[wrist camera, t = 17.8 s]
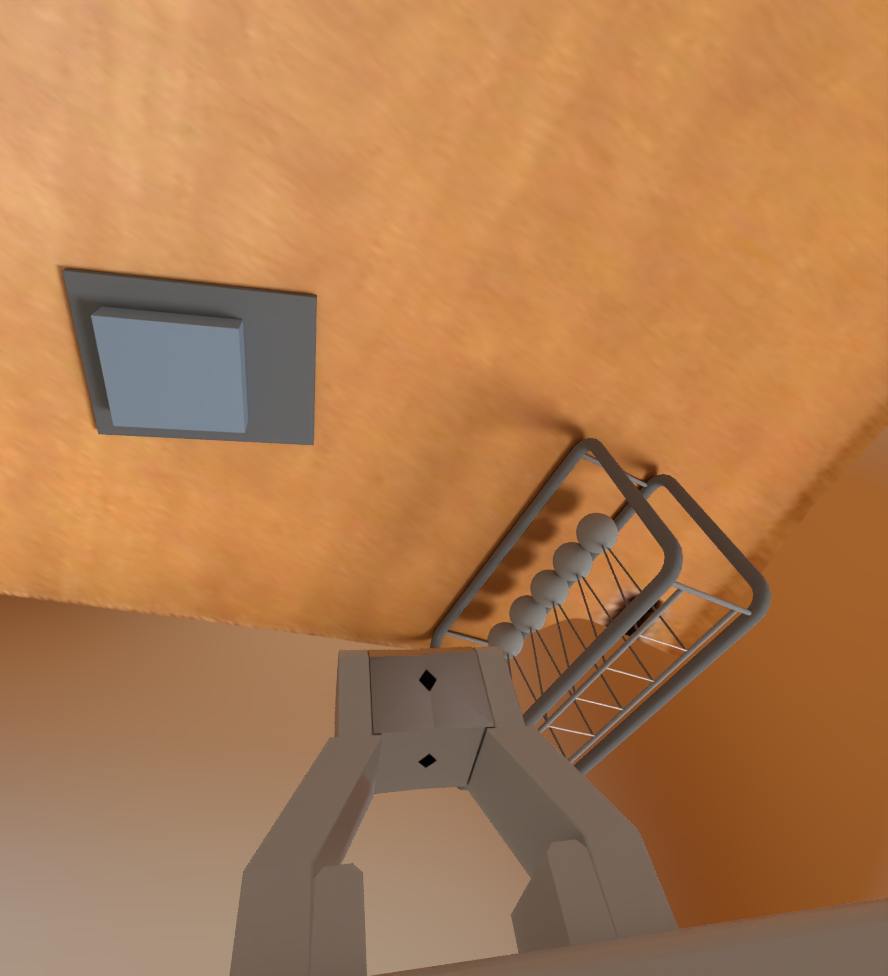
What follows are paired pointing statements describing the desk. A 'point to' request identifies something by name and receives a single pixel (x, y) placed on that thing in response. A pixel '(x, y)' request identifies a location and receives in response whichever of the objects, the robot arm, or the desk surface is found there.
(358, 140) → the desk surface
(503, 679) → the robot arm
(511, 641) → the newton's cradle
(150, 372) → the tile
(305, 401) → the mat
